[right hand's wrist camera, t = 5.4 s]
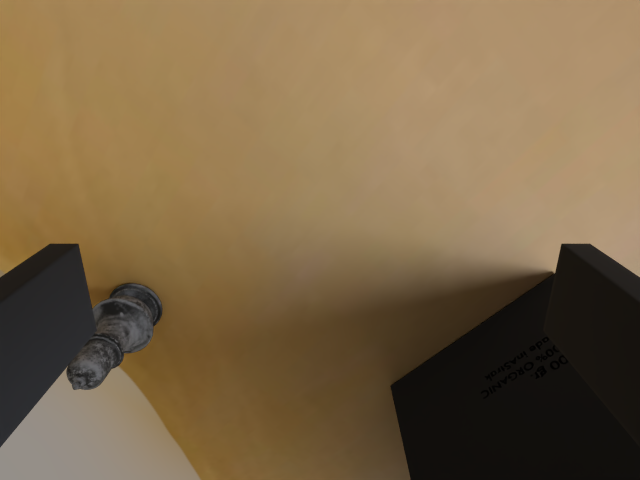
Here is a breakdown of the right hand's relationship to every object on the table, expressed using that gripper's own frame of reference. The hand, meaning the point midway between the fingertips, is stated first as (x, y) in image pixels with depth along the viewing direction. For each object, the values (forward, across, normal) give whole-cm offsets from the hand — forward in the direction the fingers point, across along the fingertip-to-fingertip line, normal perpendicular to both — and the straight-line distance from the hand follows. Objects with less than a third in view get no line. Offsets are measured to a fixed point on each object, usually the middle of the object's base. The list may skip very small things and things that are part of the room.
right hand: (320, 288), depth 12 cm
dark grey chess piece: (+28, -18, -17) cm, 37 cm away
